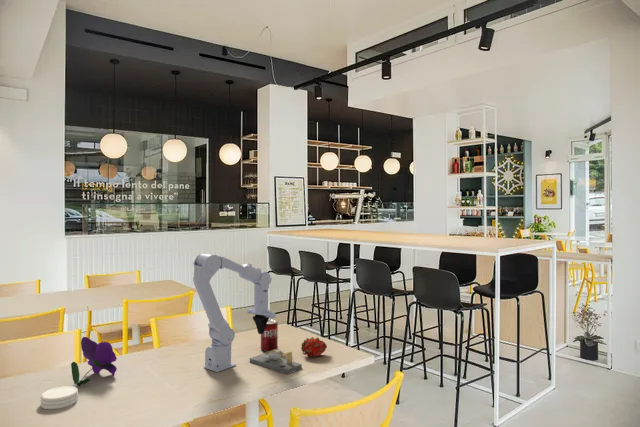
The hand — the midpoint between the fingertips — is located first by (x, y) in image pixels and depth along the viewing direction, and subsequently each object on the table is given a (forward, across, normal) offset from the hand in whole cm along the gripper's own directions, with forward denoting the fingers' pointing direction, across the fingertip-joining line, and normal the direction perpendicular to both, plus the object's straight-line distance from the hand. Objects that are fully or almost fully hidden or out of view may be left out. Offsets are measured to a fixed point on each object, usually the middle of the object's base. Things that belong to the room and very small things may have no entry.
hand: (261, 333), depth 181 cm
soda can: (+10, +4, -8) cm, 13 cm away
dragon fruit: (+10, -16, -14) cm, 24 cm away
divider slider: (+8, -10, +3) cm, 13 cm away
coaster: (+10, +17, +70) cm, 72 cm away
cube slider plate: (+10, -12, +4) cm, 15 cm away
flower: (+10, +27, +55) cm, 62 cm away
